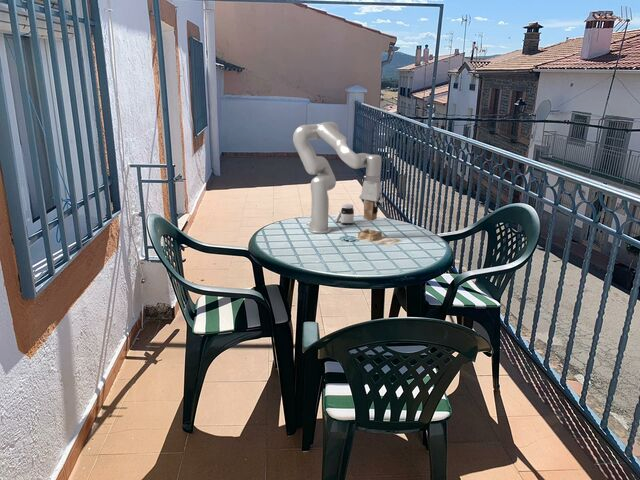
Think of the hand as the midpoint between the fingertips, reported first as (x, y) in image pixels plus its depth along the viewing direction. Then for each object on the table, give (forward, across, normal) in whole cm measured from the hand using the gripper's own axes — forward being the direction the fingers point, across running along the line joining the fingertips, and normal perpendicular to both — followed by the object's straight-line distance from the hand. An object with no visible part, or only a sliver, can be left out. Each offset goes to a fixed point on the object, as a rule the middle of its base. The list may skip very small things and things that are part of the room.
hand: (370, 212), depth 268 cm
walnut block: (+4, 0, 0) cm, 4 cm away
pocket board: (+15, +6, 0) cm, 16 cm away
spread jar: (+15, -30, +19) cm, 39 cm away
